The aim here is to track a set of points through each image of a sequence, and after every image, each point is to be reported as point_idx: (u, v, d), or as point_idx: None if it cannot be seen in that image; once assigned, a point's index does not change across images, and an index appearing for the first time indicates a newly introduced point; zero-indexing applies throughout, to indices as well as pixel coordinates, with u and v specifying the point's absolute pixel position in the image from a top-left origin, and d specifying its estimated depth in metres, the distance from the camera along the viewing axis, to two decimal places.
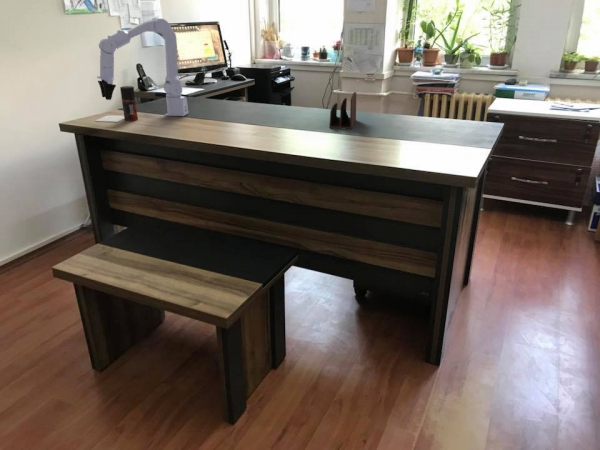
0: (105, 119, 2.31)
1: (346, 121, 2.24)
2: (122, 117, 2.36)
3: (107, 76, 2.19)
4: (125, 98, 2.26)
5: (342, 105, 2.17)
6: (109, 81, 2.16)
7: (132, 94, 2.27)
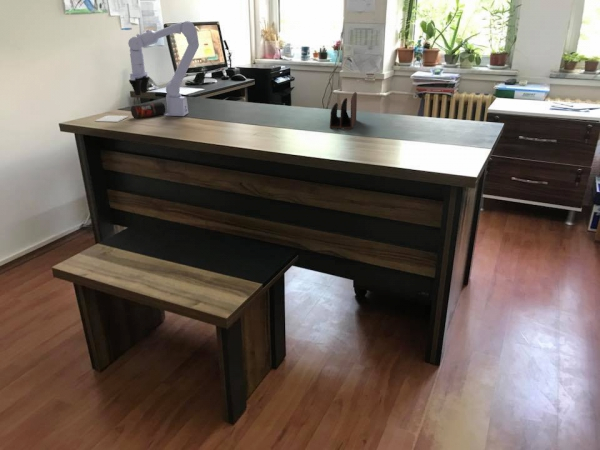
0: (105, 119, 2.31)
1: (346, 121, 2.24)
2: (122, 117, 2.36)
3: (135, 73, 2.31)
4: (153, 103, 2.40)
5: (342, 105, 2.17)
6: (131, 77, 2.27)
7: (159, 108, 2.40)
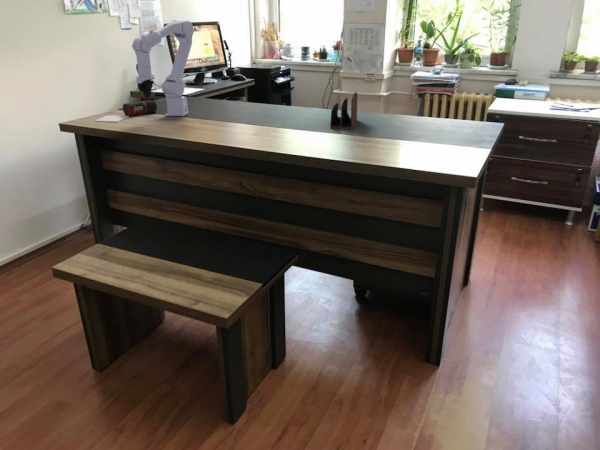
0: (105, 119, 2.31)
1: (347, 122, 2.24)
2: (122, 117, 2.36)
3: (141, 75, 2.22)
4: None
5: (343, 105, 2.17)
6: (137, 80, 2.19)
7: None
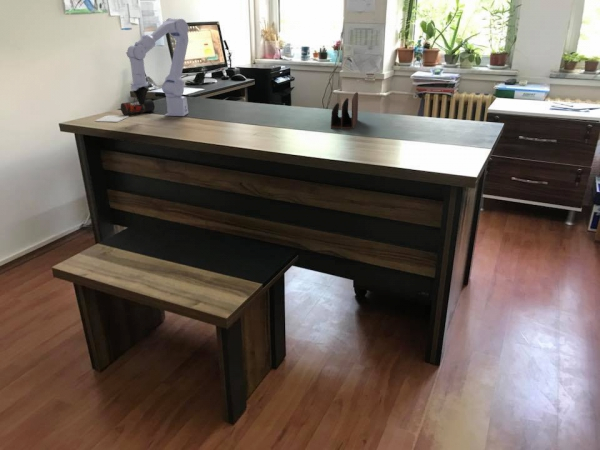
0: (105, 119, 2.31)
1: (347, 122, 2.24)
2: (122, 117, 2.36)
3: (136, 83, 2.22)
4: None
5: (343, 105, 2.17)
6: (132, 88, 2.19)
7: None
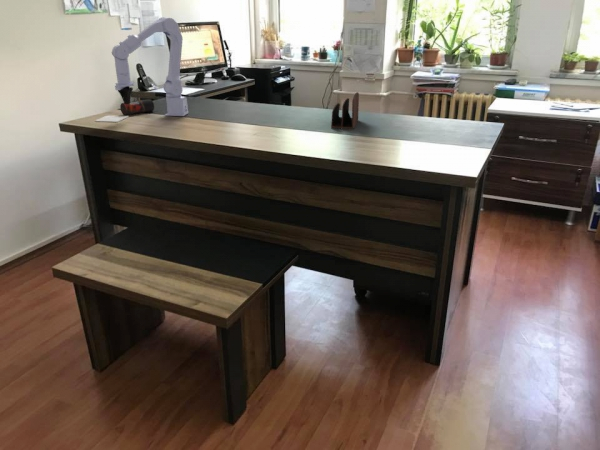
0: (105, 119, 2.31)
1: (348, 122, 2.24)
2: (122, 117, 2.36)
3: (120, 82, 2.23)
4: (143, 112, 2.49)
5: (344, 105, 2.17)
6: (116, 87, 2.20)
7: None
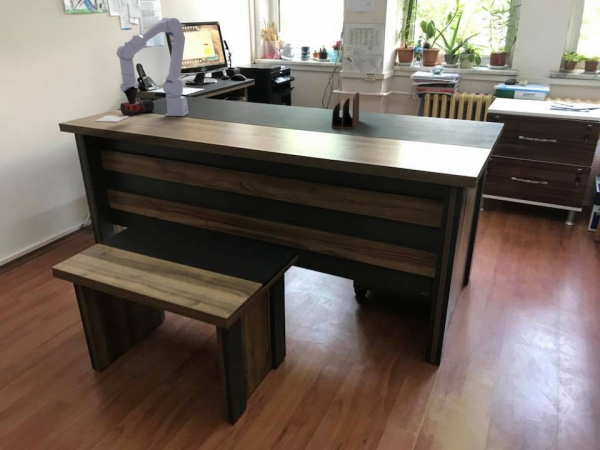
0: (105, 119, 2.31)
1: (348, 122, 2.24)
2: (122, 117, 2.36)
3: (125, 83, 2.23)
4: (143, 112, 2.49)
5: (344, 105, 2.17)
6: (121, 88, 2.20)
7: None
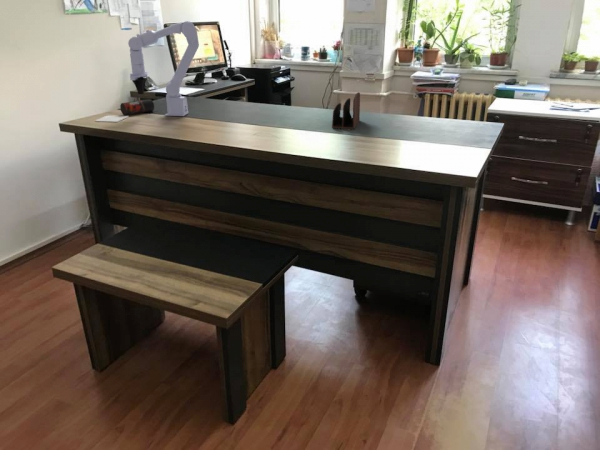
0: (105, 119, 2.31)
1: (349, 122, 2.24)
2: (122, 117, 2.36)
3: (135, 73, 2.31)
4: (143, 112, 2.49)
5: (345, 105, 2.17)
6: (131, 77, 2.27)
7: None
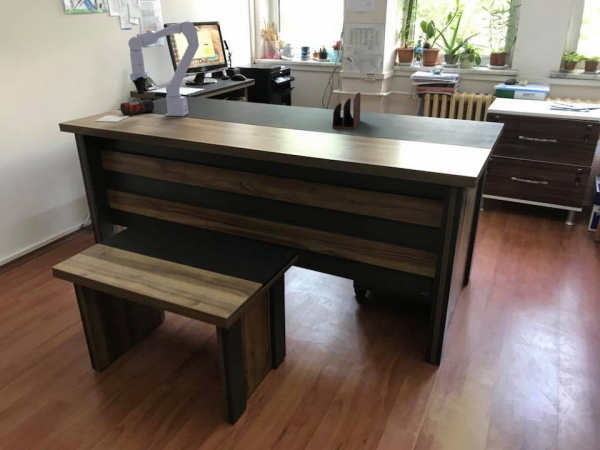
0: (105, 119, 2.31)
1: (349, 122, 2.24)
2: (122, 117, 2.36)
3: (135, 73, 2.31)
4: (143, 112, 2.49)
5: (345, 105, 2.17)
6: (131, 77, 2.27)
7: None
